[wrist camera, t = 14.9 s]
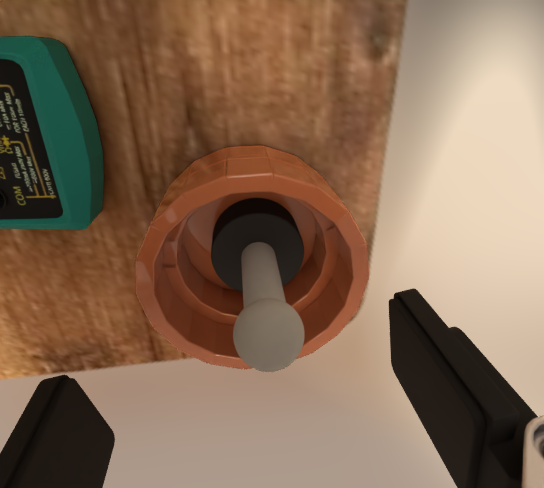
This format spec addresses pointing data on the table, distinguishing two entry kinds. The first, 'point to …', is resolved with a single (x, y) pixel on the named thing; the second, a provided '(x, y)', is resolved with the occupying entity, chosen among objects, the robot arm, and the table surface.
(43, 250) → the table surface
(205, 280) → the basin bowl
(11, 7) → the table surface
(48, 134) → the digital multimeter
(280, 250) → the stopper
